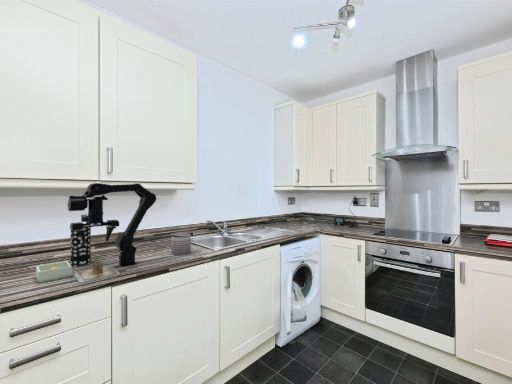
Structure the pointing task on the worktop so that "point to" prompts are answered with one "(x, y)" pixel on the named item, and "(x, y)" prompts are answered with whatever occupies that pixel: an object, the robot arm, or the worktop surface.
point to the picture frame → (94, 279)
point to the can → (180, 244)
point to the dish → (53, 271)
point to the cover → (97, 271)
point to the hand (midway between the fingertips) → (95, 242)
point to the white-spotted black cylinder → (80, 248)
